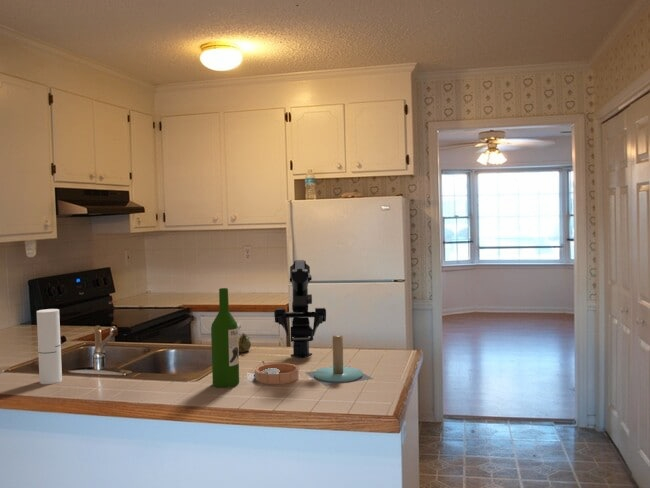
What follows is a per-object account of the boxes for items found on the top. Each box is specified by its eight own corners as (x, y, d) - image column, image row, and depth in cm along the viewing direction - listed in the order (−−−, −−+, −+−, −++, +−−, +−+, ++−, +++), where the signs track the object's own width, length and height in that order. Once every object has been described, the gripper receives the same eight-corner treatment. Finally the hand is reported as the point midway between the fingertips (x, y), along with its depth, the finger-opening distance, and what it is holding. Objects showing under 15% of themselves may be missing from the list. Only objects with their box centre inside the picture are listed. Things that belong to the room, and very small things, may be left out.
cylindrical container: (66, 379, 209) (63, 309, 208) (51, 384, 202) (48, 312, 201) (50, 377, 211) (47, 308, 210) (34, 383, 204) (31, 311, 203)
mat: (304, 373, 211) (304, 372, 211) (349, 367, 219) (349, 366, 219) (325, 386, 195) (325, 385, 195) (373, 379, 202) (373, 378, 202)
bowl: (273, 370, 216) (273, 361, 215) (307, 376, 207) (307, 366, 207) (246, 380, 203) (246, 370, 203) (281, 387, 195) (280, 376, 195)
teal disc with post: (331, 366, 218) (330, 329, 218) (371, 373, 209) (370, 334, 208) (304, 377, 204) (303, 338, 204) (346, 385, 195) (345, 343, 194)
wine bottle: (231, 388, 194) (228, 290, 192) (207, 386, 197) (204, 289, 195) (244, 381, 202) (241, 287, 201) (221, 379, 205) (218, 286, 204)
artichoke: (253, 349, 251) (253, 330, 250) (249, 353, 243) (249, 334, 242) (236, 349, 251) (235, 330, 251) (231, 353, 244) (231, 334, 243)
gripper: (273, 287, 213) (273, 324, 203) (325, 286, 213) (327, 323, 203) (275, 303, 221) (274, 340, 212) (325, 302, 222) (326, 339, 212)
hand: (300, 335), depth 209 cm, fingers open, 9 cm apart
